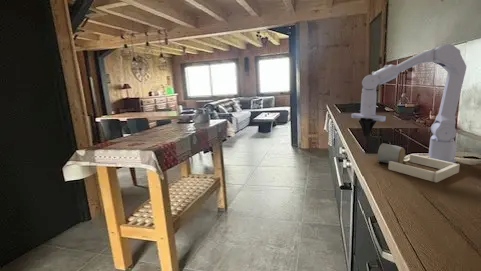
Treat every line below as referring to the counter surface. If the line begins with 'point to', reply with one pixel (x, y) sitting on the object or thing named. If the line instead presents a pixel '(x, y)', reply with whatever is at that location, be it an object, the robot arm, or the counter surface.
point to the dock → (437, 176)
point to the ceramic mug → (390, 153)
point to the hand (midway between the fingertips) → (366, 136)
